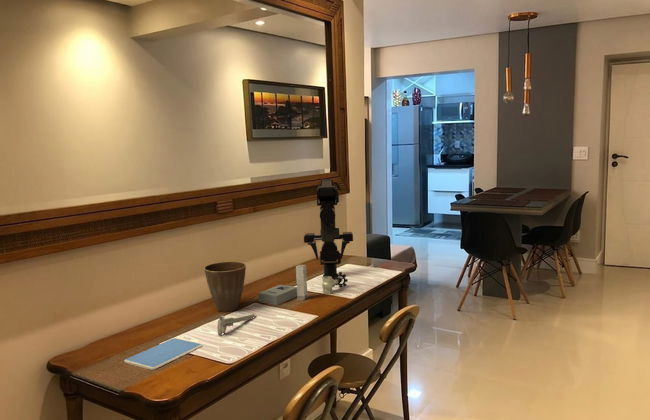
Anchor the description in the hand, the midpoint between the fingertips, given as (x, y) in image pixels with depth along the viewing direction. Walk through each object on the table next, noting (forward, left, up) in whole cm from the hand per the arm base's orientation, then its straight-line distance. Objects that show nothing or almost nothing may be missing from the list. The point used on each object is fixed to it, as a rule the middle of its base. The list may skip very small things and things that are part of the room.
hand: (329, 259), depth 205 cm
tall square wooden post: (+2, -11, -14) cm, 18 cm away
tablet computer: (+50, -52, -15) cm, 73 cm away
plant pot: (+10, -39, -15) cm, 42 cm away
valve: (-7, +1, -15) cm, 16 cm away
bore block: (+1, -20, -14) cm, 25 cm away
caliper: (+29, -33, -15) cm, 46 cm away
